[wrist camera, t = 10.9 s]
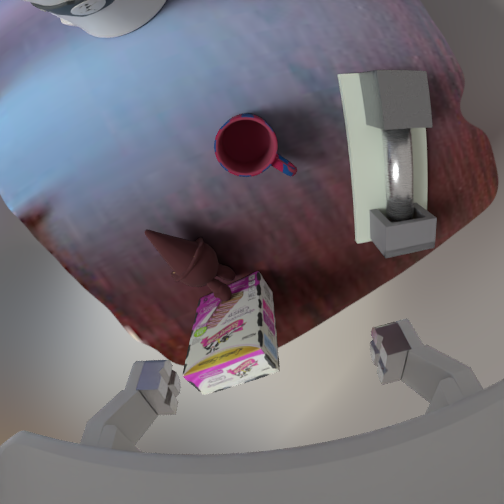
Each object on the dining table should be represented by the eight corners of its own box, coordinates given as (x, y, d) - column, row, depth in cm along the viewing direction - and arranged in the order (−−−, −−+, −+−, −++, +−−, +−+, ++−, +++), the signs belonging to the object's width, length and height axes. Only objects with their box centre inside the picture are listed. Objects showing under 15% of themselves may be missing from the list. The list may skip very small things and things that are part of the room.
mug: (240, 103, 35) (239, 103, 29) (302, 150, 38) (313, 160, 32) (209, 144, 37) (202, 153, 31) (271, 188, 40) (275, 205, 34)
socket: (369, 209, 40) (386, 227, 35) (416, 202, 40) (436, 217, 35) (370, 238, 43) (385, 258, 37) (415, 229, 42) (434, 247, 37)
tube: (376, 125, 35) (389, 128, 31) (401, 123, 34) (416, 127, 31) (382, 228, 42) (392, 240, 38) (405, 224, 41) (417, 235, 38)
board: (337, 74, 33) (339, 74, 32) (416, 73, 32) (419, 73, 31) (355, 240, 44) (357, 243, 43) (422, 227, 43) (425, 230, 42)
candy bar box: (257, 267, 46) (262, 347, 31) (273, 291, 48) (282, 372, 33) (196, 297, 48) (180, 377, 34) (213, 318, 50) (204, 398, 36)
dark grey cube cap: (358, 73, 32) (376, 70, 26) (403, 72, 31) (426, 71, 26) (366, 124, 35) (384, 129, 30) (410, 122, 34) (432, 127, 29)
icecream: (124, 263, 38) (214, 316, 44) (148, 232, 34) (247, 295, 40) (142, 230, 43) (221, 281, 49) (166, 199, 39) (251, 258, 45)
